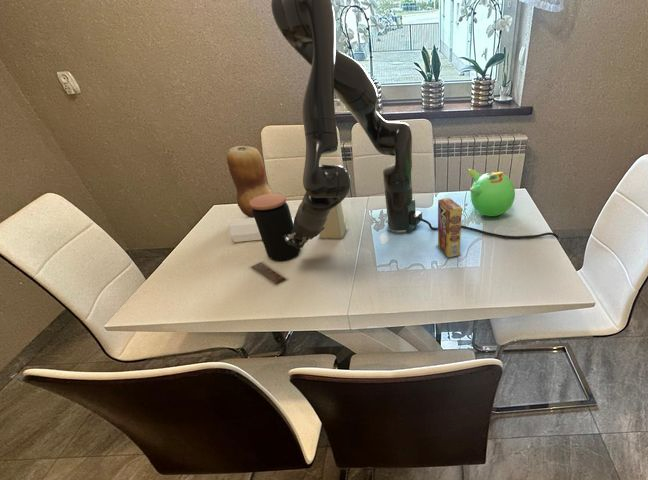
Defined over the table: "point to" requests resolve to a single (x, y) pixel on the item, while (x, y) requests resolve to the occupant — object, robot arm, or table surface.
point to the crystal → (244, 229)
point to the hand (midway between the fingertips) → (298, 245)
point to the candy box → (449, 227)
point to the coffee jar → (274, 225)
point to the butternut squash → (247, 176)
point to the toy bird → (491, 193)
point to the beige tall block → (334, 223)
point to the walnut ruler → (268, 273)
